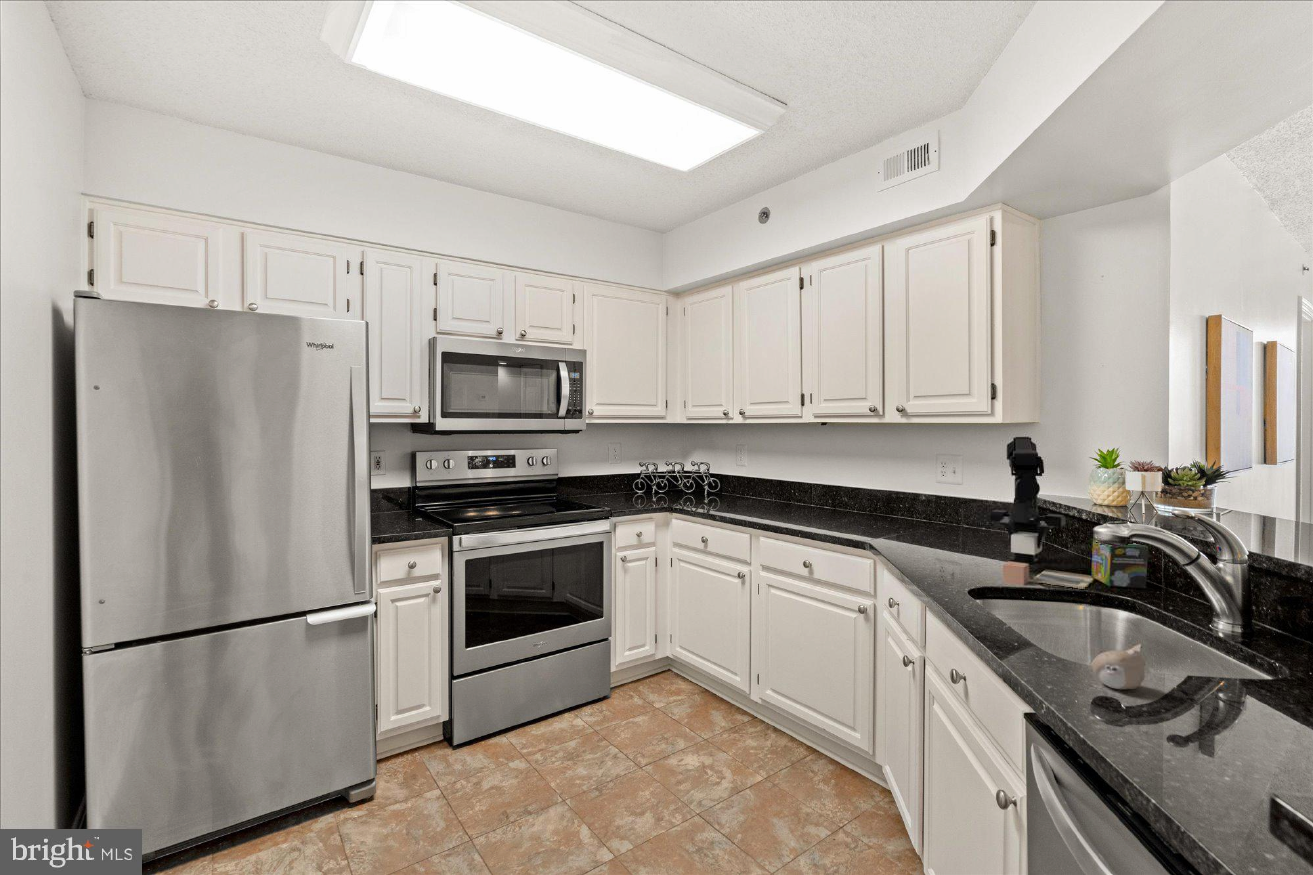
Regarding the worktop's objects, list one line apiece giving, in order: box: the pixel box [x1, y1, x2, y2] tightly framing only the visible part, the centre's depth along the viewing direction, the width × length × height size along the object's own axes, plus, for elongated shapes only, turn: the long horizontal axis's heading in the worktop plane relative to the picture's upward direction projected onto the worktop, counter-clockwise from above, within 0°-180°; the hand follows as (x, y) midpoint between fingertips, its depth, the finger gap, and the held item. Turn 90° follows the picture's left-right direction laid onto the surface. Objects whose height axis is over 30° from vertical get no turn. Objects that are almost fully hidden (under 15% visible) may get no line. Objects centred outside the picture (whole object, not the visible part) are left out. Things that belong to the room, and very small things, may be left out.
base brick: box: [1010, 532, 1043, 555], centre depth 177 cm, size 8×6×5 cm
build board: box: [1030, 569, 1096, 590], centre depth 165 cm, size 16×12×1 cm
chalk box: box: [1090, 537, 1149, 589], centre depth 160 cm, size 9×9×15 cm
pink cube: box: [1002, 560, 1030, 586], centre depth 165 cm, size 5×5×5 cm
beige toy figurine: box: [1091, 643, 1146, 690], centre depth 99 cm, size 7×6×8 cm
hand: (1026, 546), depth 176 cm, fingers closed on base brick, 6 cm apart
